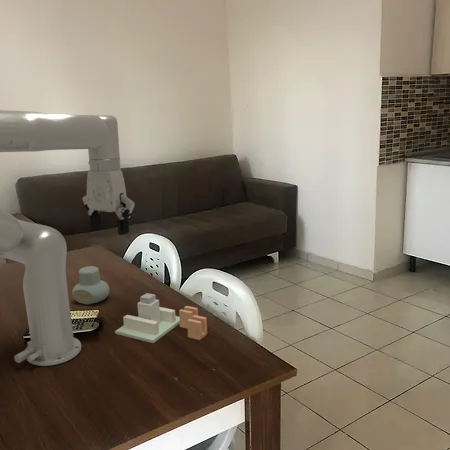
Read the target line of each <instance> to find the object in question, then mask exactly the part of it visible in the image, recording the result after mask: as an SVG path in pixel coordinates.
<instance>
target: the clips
mask: <svg viewBox="0 0 450 450" xmlns="http://www.w3.org/2000/svg"><path fill="white" fill-rule="evenodd" d="M183 308H184V309H182V308H181V309H179V310H178V314H179V317H180V324H179V327H180V328H183V329H187V337H188V338H189V339H194V340H197V341H201V340H202V339H203V338H205V337H206V336H207V335H208V325H207V324H208V322H207V321H208V320H207V317H205V316H201V315H199V308H198V307H194V306H190V305H186V306H184V307H183Z"/></svg>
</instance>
